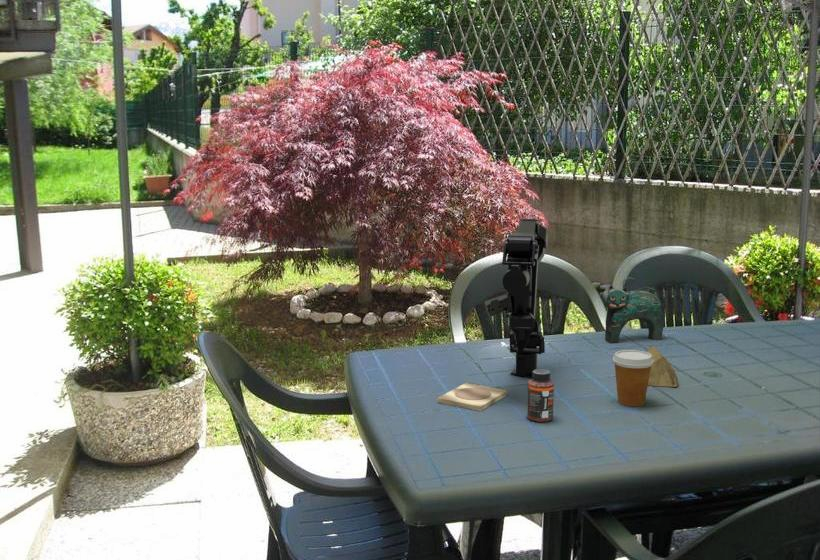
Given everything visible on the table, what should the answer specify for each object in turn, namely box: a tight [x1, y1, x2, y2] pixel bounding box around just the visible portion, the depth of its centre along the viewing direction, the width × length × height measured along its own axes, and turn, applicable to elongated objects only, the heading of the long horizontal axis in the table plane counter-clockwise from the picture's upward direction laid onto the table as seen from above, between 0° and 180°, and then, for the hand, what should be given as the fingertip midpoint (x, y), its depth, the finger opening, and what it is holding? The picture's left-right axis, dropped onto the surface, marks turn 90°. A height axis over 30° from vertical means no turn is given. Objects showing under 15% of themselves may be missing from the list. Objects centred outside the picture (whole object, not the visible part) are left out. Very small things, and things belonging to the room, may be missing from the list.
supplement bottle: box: [526, 368, 555, 423], centre depth 200 cm, size 6×6×11 cm
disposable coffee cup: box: [612, 349, 653, 407], centre depth 210 cm, size 10×10×12 cm
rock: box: [646, 346, 679, 388], centre depth 224 cm, size 10×8×10 cm
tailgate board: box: [436, 382, 509, 412], centre depth 215 cm, size 15×12×1 cm
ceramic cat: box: [602, 277, 666, 344], centre depth 267 cm, size 20×6×20 cm, turn 102°
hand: (518, 347), depth 216 cm, fingers open, 9 cm apart
